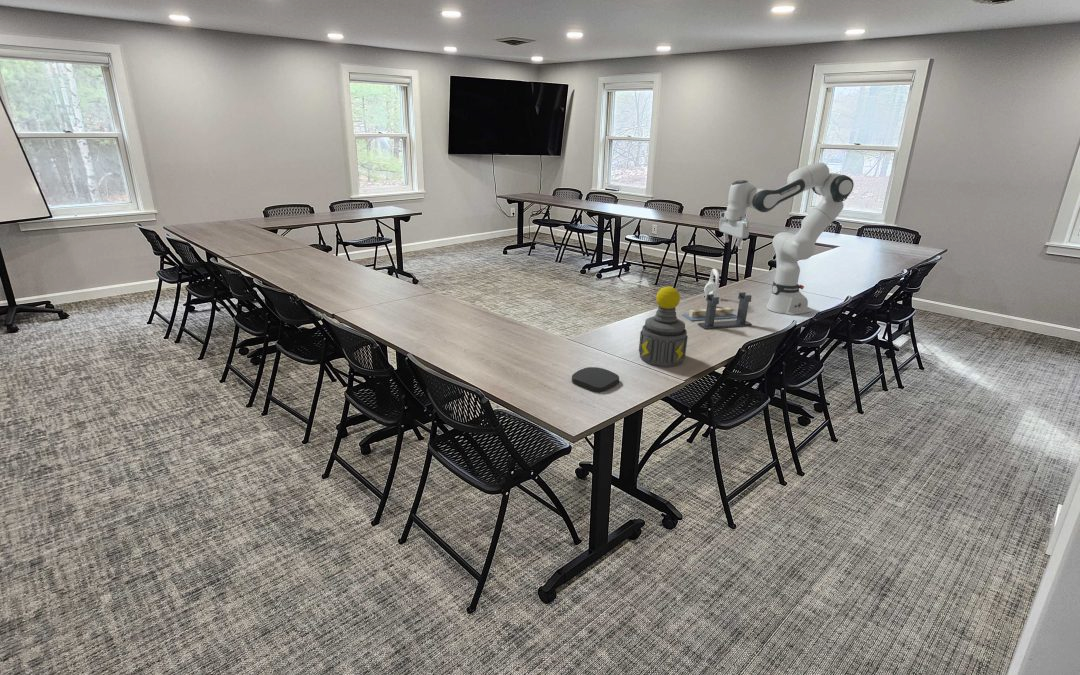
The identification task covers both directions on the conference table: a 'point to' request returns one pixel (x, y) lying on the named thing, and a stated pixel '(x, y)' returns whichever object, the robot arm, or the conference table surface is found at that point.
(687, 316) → the mat
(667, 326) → the decorative lamp
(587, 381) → the media streaming box
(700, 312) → the rail
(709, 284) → the headset
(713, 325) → the hook rack
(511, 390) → the conference table surface
